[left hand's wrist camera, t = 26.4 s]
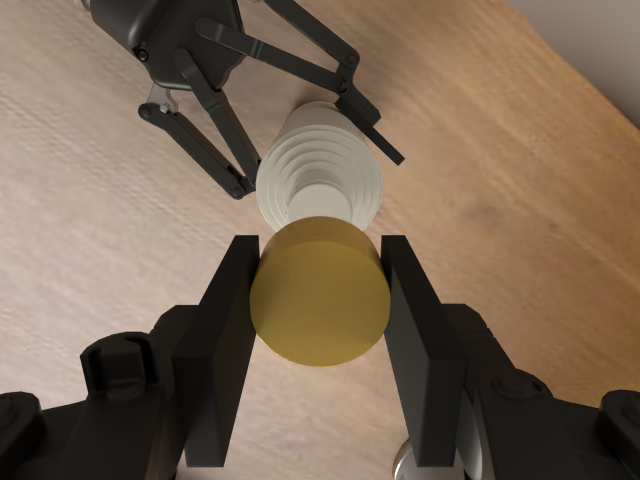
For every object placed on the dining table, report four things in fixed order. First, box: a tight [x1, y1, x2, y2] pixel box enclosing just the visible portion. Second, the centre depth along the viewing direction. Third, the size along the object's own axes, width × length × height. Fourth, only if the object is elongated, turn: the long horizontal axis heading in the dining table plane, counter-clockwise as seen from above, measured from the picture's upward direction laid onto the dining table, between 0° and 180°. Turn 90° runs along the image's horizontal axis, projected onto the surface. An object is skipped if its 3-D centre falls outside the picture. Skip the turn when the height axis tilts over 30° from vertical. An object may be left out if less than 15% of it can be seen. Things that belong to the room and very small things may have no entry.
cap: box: [250, 216, 391, 367], centre depth 13 cm, size 4×4×2 cm
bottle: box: [256, 101, 383, 232], centre depth 29 cm, size 7×7×22 cm
